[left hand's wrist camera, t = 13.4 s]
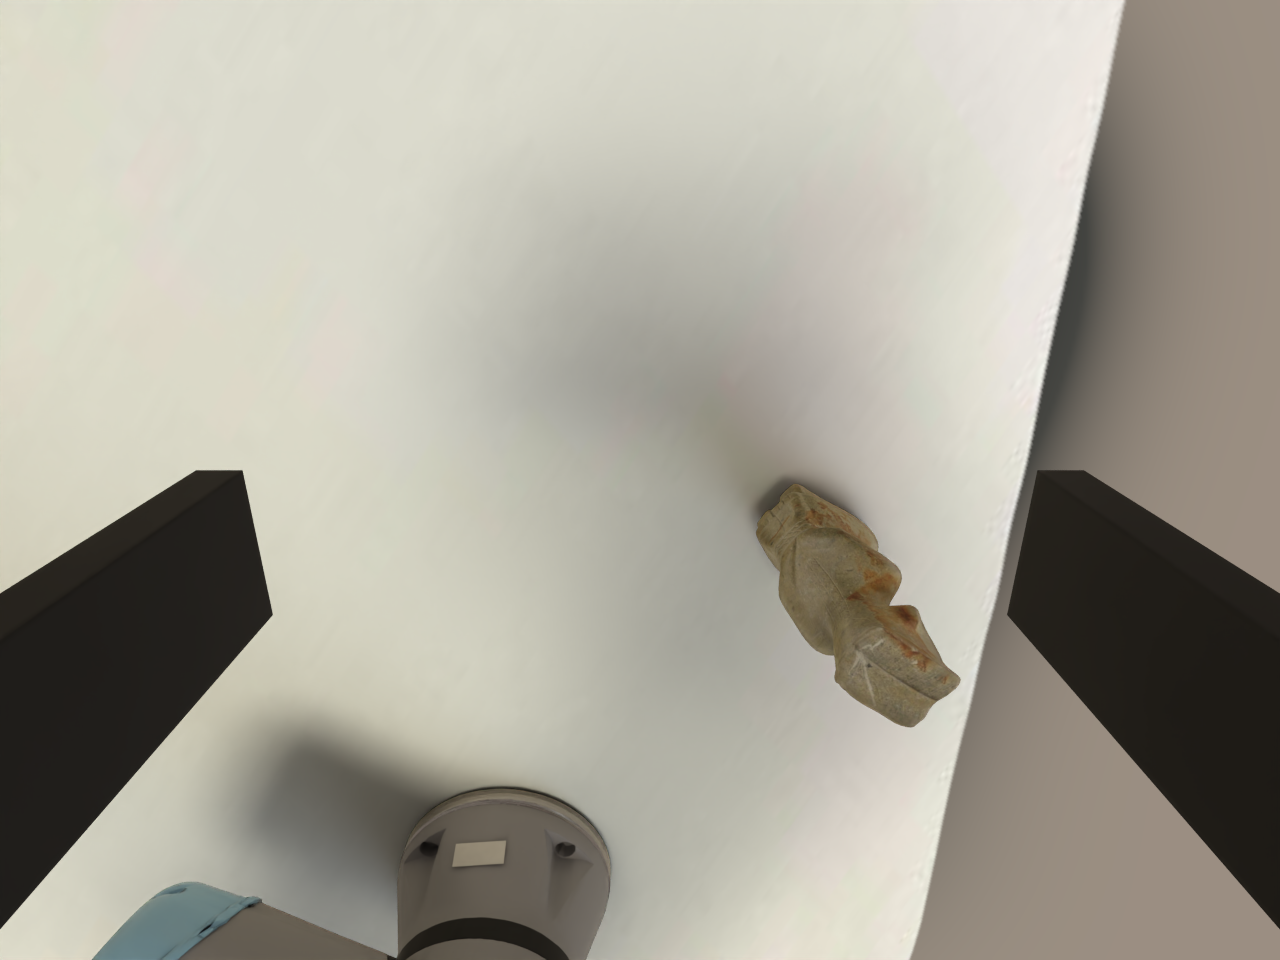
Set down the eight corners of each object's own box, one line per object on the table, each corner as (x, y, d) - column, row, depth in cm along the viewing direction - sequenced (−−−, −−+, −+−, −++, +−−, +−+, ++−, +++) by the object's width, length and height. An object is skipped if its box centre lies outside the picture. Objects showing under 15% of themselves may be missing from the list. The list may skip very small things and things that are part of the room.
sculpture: (816, 591, 46) (893, 765, 32) (732, 523, 44) (774, 675, 30) (885, 526, 44) (998, 680, 31) (800, 454, 43) (878, 581, 29)
